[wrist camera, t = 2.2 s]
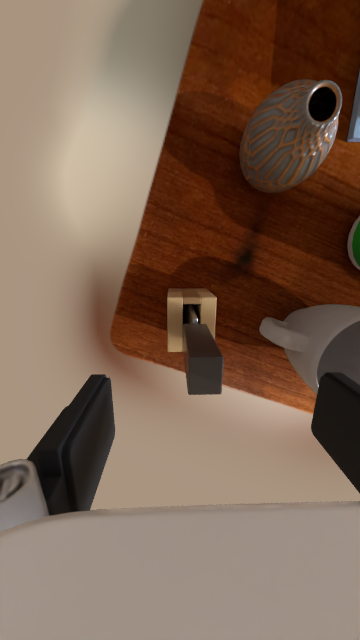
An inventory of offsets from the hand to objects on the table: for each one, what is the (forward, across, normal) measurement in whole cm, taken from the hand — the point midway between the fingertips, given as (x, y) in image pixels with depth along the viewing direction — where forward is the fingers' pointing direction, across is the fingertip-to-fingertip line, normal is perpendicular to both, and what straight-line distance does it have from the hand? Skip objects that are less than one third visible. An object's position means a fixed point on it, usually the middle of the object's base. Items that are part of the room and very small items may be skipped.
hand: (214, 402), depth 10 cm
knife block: (+17, 0, 0) cm, 17 cm away
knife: (+17, 0, 0) cm, 17 cm away
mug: (+17, -12, +2) cm, 21 cm away
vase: (+17, -7, -16) cm, 24 cm away
